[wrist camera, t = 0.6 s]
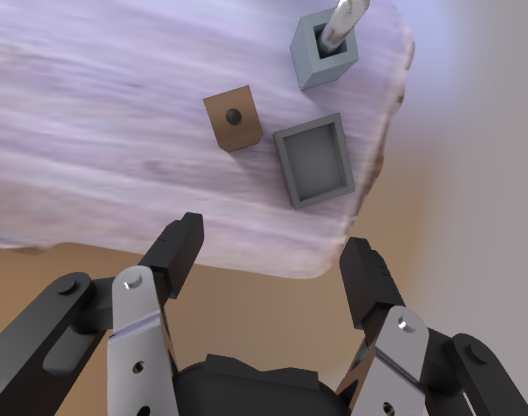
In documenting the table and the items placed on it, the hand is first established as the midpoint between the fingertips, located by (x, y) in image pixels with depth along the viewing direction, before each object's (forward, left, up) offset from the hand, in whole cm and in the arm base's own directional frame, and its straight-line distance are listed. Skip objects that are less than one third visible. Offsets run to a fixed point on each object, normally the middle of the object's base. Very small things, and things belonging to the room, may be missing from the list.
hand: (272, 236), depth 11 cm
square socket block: (-15, +14, -23) cm, 31 cm away
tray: (-1, +10, -23) cm, 25 cm away
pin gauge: (-15, +14, -23) cm, 31 cm away
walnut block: (-9, 0, -23) cm, 25 cm away
